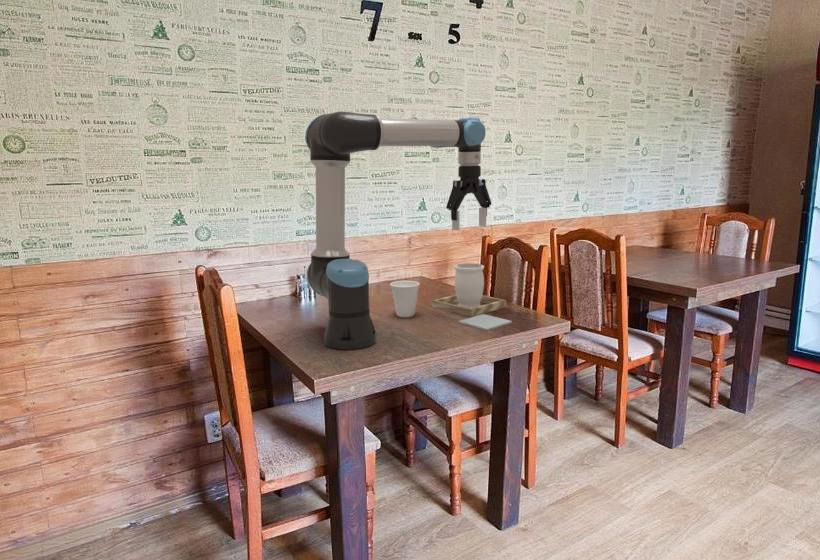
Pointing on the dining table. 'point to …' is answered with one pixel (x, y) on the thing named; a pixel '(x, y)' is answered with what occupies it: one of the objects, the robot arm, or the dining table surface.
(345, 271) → the robot arm
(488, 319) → the mat
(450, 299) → the square wooden frame
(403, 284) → the cup
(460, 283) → the jar
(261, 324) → the dining table surface
